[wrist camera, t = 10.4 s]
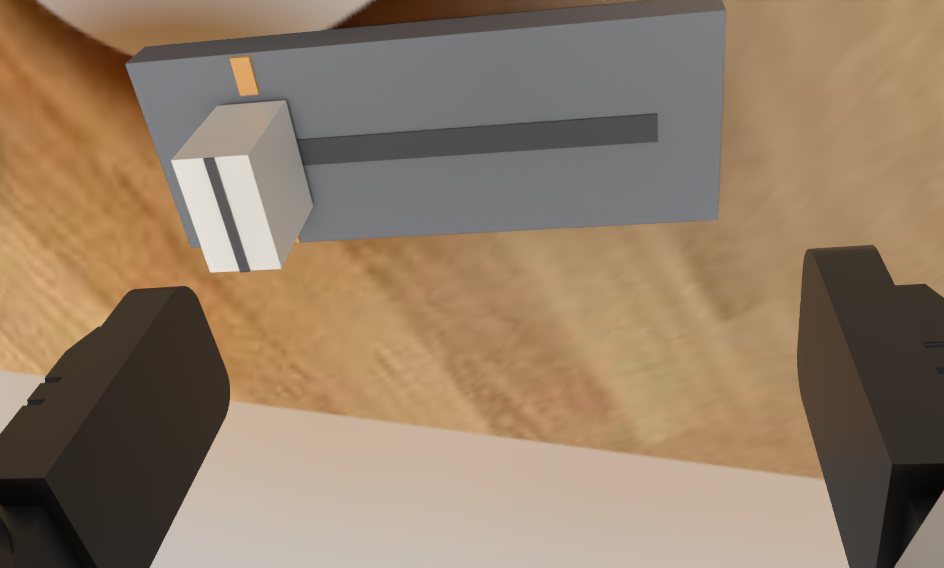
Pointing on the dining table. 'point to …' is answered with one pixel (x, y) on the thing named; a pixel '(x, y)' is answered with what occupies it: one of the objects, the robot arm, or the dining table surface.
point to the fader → (244, 186)
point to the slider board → (473, 117)
